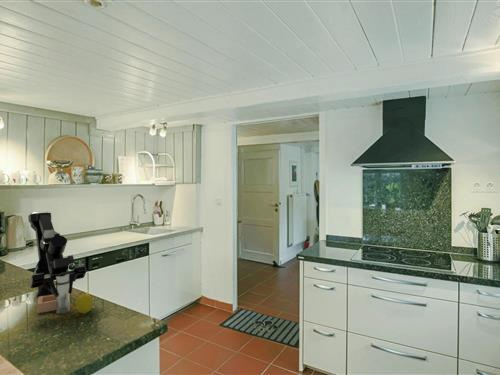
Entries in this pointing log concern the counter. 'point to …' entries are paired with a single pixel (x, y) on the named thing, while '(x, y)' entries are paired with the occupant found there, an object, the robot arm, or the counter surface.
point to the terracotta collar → (46, 303)
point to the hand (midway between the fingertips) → (63, 294)
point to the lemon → (84, 303)
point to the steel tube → (62, 294)
